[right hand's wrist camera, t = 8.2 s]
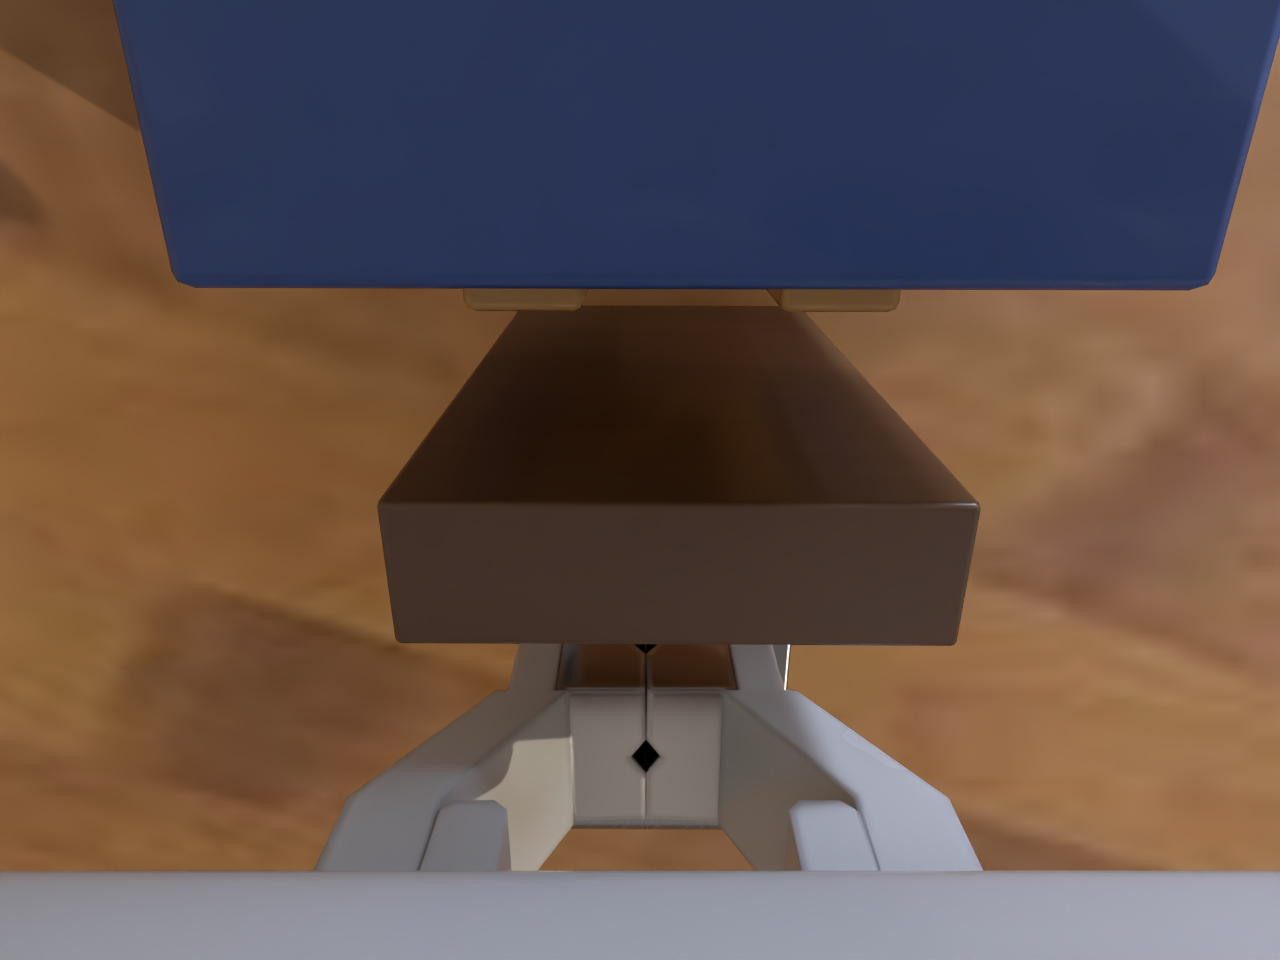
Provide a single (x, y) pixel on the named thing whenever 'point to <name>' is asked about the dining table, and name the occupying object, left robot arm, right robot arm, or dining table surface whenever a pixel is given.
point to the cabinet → (697, 141)
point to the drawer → (674, 490)
